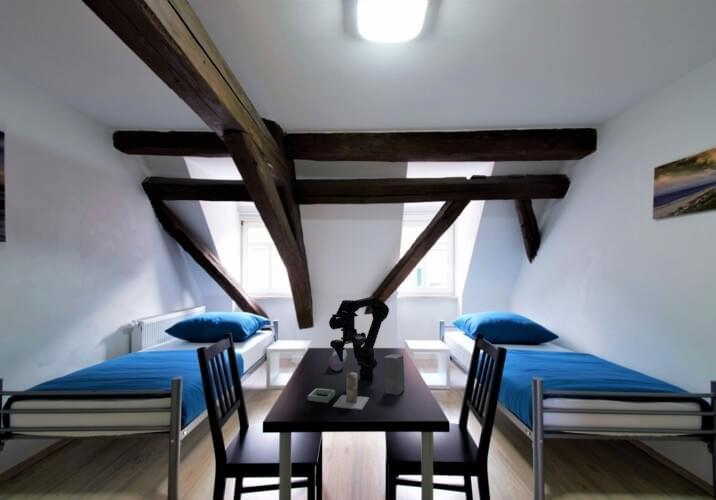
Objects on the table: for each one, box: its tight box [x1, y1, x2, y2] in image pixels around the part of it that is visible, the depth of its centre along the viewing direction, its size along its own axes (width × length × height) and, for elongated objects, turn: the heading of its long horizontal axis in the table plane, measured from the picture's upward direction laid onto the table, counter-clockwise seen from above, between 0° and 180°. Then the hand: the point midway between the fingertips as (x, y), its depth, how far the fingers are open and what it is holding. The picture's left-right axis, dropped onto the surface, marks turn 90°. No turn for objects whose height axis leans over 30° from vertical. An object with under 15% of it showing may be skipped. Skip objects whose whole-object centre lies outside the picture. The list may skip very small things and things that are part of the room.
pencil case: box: [328, 348, 348, 372], centre depth 191 cm, size 21×9×10 cm, turn 178°
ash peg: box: [345, 371, 358, 403], centre depth 139 cm, size 4×4×11 cm
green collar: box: [307, 388, 336, 404], centre depth 144 cm, size 9×9×2 cm
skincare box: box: [383, 353, 406, 396], centre depth 151 cm, size 8×7×16 cm
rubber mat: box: [332, 394, 370, 411], centre depth 138 cm, size 12×12×1 cm
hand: (348, 359), depth 159 cm, fingers open, 9 cm apart
